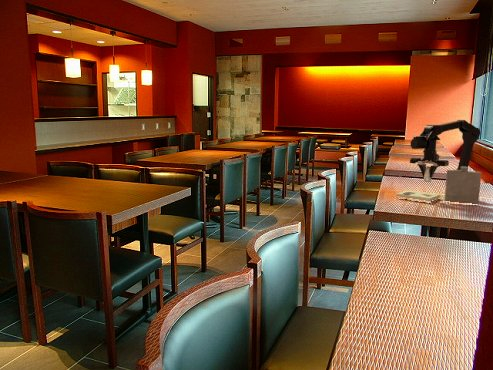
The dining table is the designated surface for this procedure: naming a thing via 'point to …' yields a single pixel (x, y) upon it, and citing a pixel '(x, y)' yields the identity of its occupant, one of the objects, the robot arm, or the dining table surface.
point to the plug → (427, 174)
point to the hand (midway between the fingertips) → (427, 177)
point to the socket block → (419, 195)
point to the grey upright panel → (462, 186)
